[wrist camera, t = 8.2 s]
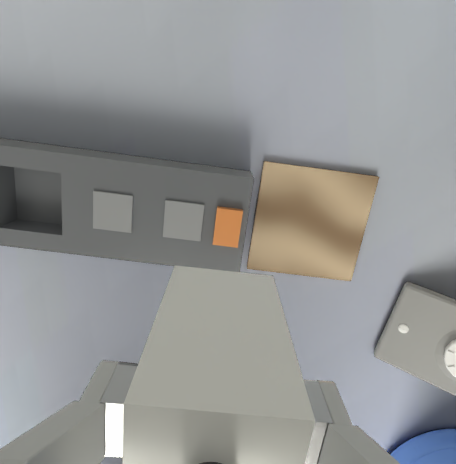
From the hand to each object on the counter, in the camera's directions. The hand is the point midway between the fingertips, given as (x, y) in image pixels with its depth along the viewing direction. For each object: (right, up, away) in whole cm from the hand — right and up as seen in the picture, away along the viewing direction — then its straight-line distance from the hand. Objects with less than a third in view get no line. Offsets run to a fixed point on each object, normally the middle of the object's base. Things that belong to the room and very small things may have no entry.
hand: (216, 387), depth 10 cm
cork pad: (+8, +6, +20) cm, 22 cm away
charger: (0, +1, +4) cm, 4 cm away
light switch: (+23, -5, +24) cm, 34 cm away
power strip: (-12, +8, +20) cm, 24 cm away
